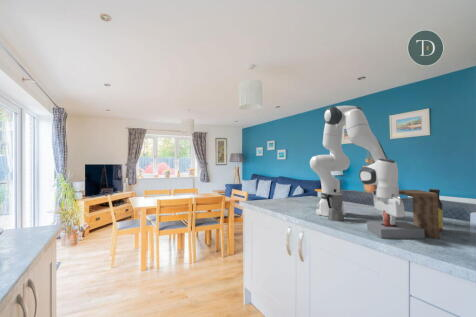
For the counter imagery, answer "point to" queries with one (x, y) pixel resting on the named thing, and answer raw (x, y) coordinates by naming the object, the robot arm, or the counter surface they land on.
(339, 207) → the coffeepot
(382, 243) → the counter surface
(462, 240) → the counter surface
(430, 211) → the wooden overhang shelf
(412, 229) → the socket block
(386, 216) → the peg
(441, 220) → the sauce bottle
